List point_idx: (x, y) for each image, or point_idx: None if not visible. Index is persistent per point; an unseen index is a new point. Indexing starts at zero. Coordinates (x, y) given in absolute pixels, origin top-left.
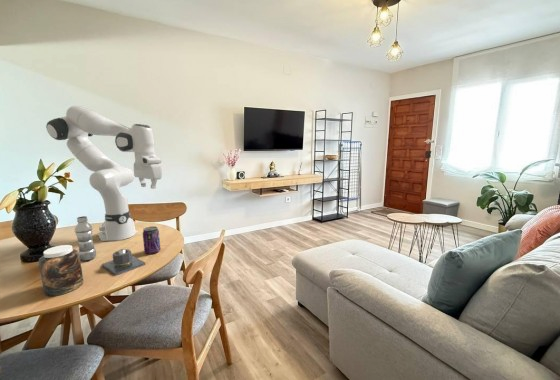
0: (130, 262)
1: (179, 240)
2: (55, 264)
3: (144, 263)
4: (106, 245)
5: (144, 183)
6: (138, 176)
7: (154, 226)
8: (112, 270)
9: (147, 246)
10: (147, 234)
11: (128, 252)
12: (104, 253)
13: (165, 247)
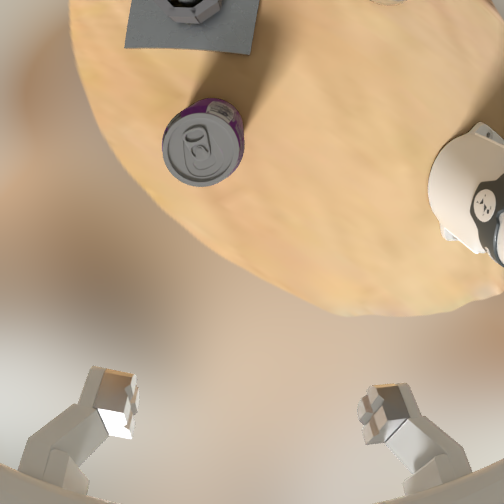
0: None
1: (221, 253)
2: None
3: (125, 45)
4: (440, 97)
5: (373, 433)
6: (462, 493)
7: (211, 183)
8: None
9: (194, 103)
10: (179, 113)
11: (160, 3)
12: (377, 37)
13: None
